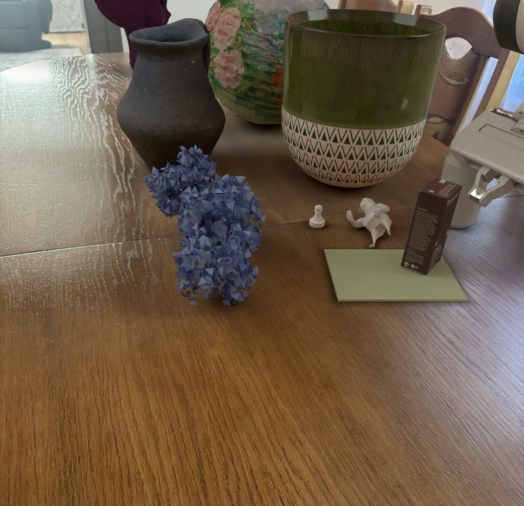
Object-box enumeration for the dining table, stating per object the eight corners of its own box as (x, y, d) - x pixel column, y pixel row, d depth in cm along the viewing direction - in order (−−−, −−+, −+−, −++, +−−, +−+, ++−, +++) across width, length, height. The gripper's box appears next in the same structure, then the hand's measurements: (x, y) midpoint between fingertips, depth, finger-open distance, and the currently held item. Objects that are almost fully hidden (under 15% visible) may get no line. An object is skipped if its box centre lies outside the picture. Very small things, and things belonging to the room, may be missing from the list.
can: (440, 207, 101) (457, 139, 93) (481, 219, 97) (502, 150, 90) (424, 222, 96) (440, 151, 88) (467, 234, 93) (487, 163, 85)
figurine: (348, 237, 87) (336, 203, 96) (378, 257, 89) (364, 222, 98) (375, 207, 84) (360, 175, 93) (405, 229, 86) (388, 196, 95)
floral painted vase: (339, 109, 147) (354, -29, 128) (328, 151, 122) (346, -13, 103) (219, 98, 151) (217, -36, 132) (185, 137, 125) (176, -23, 107)
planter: (298, 212, 97) (311, 37, 80) (263, 158, 117) (267, 8, 100) (438, 202, 102) (478, 35, 85) (381, 151, 122) (405, 8, 106)
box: (428, 277, 81) (448, 198, 73) (399, 267, 83) (416, 189, 75) (443, 260, 85) (463, 184, 77) (415, 251, 87) (432, 176, 79)
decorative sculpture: (283, 224, 64) (231, 120, 85) (154, 250, 62) (133, 136, 83) (287, 318, 74) (240, 204, 95) (177, 342, 72) (154, 221, 93)
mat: (438, 251, 88) (438, 249, 88) (467, 301, 77) (468, 299, 77) (324, 251, 87) (324, 248, 86) (337, 301, 76) (338, 299, 76)
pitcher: (101, 172, 108) (78, 25, 93) (166, 140, 124) (157, 9, 108) (190, 195, 101) (182, 40, 86) (248, 159, 117) (250, 21, 101)
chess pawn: (308, 221, 95) (309, 201, 92) (323, 221, 95) (325, 201, 93) (310, 228, 93) (312, 208, 90) (325, 228, 93) (328, 208, 91)
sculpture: (179, 79, 166) (172, -45, 147) (102, 81, 161) (84, -46, 142) (170, 65, 179) (162, -51, 160) (98, 67, 174) (81, -52, 155)
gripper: (483, 90, 84) (419, 164, 86) (604, 131, 70) (523, 218, 72) (496, 118, 88) (435, 187, 90) (612, 161, 74) (536, 242, 77)
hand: (475, 201), depth 81 cm, fingers closed
